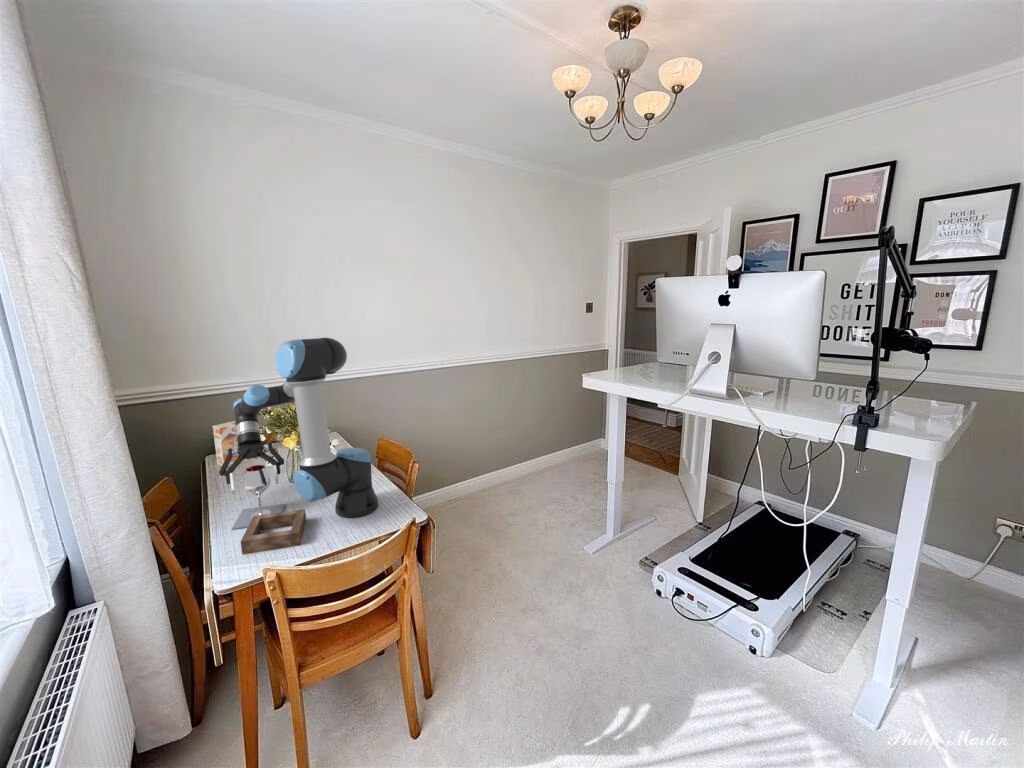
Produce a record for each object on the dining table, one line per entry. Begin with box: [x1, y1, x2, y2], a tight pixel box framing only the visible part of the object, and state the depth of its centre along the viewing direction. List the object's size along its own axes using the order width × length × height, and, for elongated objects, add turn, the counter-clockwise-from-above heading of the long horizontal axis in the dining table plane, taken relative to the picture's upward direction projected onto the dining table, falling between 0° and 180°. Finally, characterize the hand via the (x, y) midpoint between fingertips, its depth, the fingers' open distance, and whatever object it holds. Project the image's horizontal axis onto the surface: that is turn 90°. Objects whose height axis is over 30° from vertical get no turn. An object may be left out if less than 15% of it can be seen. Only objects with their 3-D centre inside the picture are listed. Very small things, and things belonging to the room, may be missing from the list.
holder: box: [240, 508, 307, 555], centre depth 137 cm, size 16×16×4 cm
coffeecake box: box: [212, 420, 255, 468], centre depth 198 cm, size 15×7×20 cm, turn 149°
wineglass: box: [243, 464, 271, 518], centre depth 148 cm, size 8×8×18 cm
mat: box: [231, 503, 286, 531], centre depth 150 cm, size 14×14×1 cm
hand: (255, 487), depth 149 cm, fingers open, 13 cm apart
